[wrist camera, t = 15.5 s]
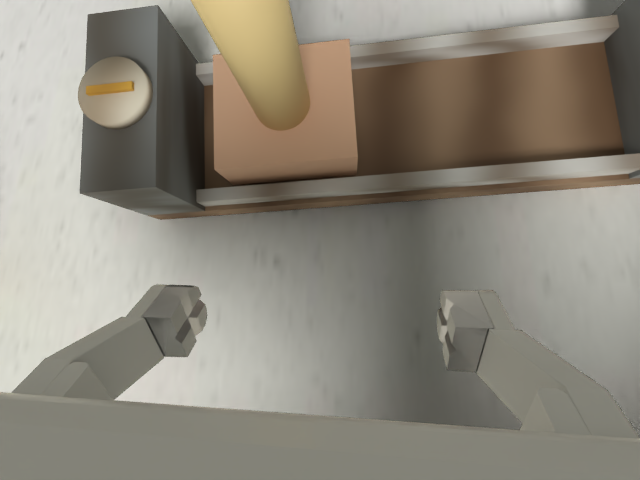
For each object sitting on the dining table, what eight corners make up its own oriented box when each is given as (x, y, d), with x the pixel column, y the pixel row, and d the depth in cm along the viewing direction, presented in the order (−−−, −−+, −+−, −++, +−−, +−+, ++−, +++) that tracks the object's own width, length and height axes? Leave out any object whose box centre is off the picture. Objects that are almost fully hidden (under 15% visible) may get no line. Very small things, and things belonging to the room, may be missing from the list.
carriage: (349, 72, 21) (347, -242, 9) (356, 175, 20) (366, -5, 8) (231, 85, 22) (65, -188, 9) (233, 185, 21) (51, 35, 8)
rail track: (647, 36, 22) (812, -100, 14) (677, 180, 20) (877, 119, 13) (161, 89, 25) (75, 2, 17) (160, 219, 23) (66, 188, 16)
